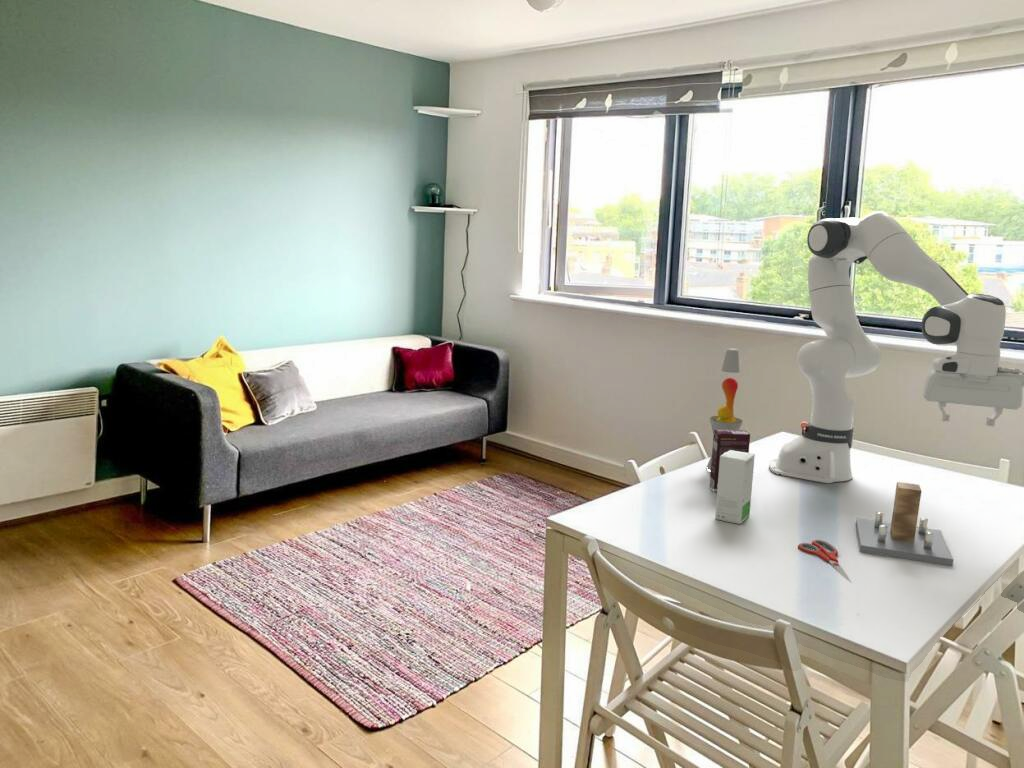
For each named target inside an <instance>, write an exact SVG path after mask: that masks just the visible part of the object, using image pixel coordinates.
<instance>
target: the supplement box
mask: <svg viewBox="0 0 1024 768" xmlns="http://www.w3.org/2000/svg"><path fill="white" fill-rule="evenodd" d="M750 440H751V434H750V433H749V432H748V431H747V430H745V429H739V430H716V429H714V434H713V439H712V451H711V455H712V461H711V473H710V476H709V487H710V489H711V488H712V489H713V490H714V491H717V488H718V476H719V463H720V456H721V455H723V454H724V453H725V452H728V451H729V450H733V451H739V452H746V453H750ZM712 489H711V490H712ZM713 490H712V491H713ZM714 491H713V492H714Z"/></svg>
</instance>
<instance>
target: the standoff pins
mask: <svg viewBox="0 0 1024 768" xmlns="http://www.w3.org/2000/svg"><path fill="white" fill-rule="evenodd" d="M883 520H884V512H881V511H875V519H874V521H875V524H874V527H875V528H878V529H879V532H878V539H877V541H878V542H881V543H885V540H886V533H887V526H885V525H882V522H884V521H883ZM928 523H929V519H928V518H926V517H920V518H919V525H918V527H919V530H918V534H920V535H925V539H924V546H923V548H924V549H927V550H931V549H932V542H933V536H934V533H932V532H926V530H927V528H928Z"/></svg>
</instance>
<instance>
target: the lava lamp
mask: <svg viewBox="0 0 1024 768" xmlns="http://www.w3.org/2000/svg"><path fill="white" fill-rule="evenodd" d="M721 372H724V373H731V374H732V373H735V374H736V373H740V372H741V371H740V356H739V349H737V348H732V347H731V348H727V349H726V352H725V356H724V359H723V364H722V367H721ZM722 381H723V382H722V383H721V388H722V391H723V393H724V396H725V405H723V406H721V407H719V408H718V409H717V415H714V416H710V417H709V423H710V426H711V430H712V435H714V429H716V430H741V426H742V424H743V420H742V419H741V418H738V417H735V414H734V404H735V397H736V394H737V390H738V388H739V385H738V383H739V382H738V381H737V380H736V379H735V378H733V377H727V378H725V379H724V380H722ZM711 461H712V454H711V455H710V457H709V460H708V461H707V465H706V467H708V469H710V470H711Z"/></svg>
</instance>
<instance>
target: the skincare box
mask: <svg viewBox="0 0 1024 768" xmlns="http://www.w3.org/2000/svg"><path fill="white" fill-rule="evenodd" d="M755 454H756V453H751V452H749V453H746V452H739V451H733V450H729V451H728V452H725V453H724V454H723V455H721V456H720V463H719V476H718V488H717V492H716V501H715V502H716V503H715V512H714V513H715V514H714V519H715V520H718V521H722V522H726V523H731V524H736V525H737V524H738V525H741V524H742V523H743V522H745V521H746V519H747V518H749V516H750V514H751V502H752V490H753V480H754V478H753V477H754V467H755V457H756V455H755Z"/></svg>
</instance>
